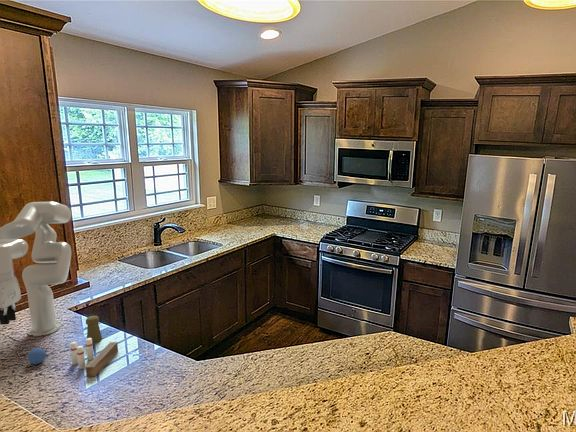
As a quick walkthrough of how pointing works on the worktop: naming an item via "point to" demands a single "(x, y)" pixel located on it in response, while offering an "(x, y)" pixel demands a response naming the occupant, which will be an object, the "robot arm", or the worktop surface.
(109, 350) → the wall
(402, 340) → the worktop surface
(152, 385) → the worktop surface
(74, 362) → the front pin
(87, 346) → the back left pin
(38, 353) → the ball
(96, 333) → the cork
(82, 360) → the back right pin
